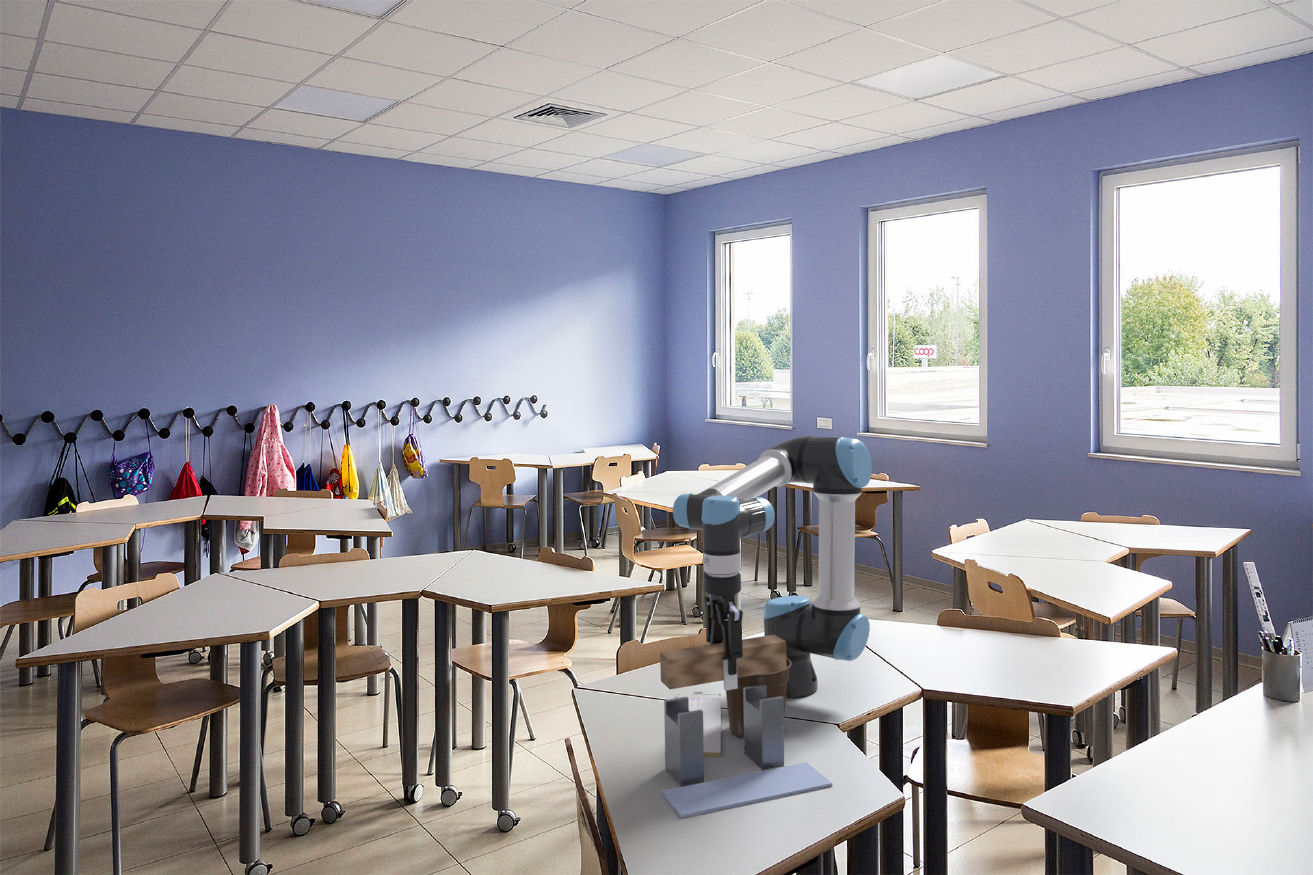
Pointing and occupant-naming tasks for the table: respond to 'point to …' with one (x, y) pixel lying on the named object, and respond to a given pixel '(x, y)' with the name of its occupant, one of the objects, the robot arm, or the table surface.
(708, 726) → the baseboard molding
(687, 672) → the oak rail
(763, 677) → the plant pot
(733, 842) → the table surface
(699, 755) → the stand
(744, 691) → the stand
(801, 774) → the felt pad
